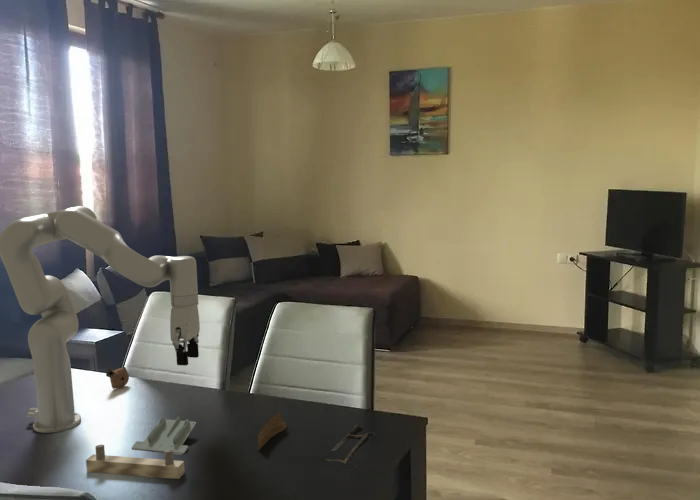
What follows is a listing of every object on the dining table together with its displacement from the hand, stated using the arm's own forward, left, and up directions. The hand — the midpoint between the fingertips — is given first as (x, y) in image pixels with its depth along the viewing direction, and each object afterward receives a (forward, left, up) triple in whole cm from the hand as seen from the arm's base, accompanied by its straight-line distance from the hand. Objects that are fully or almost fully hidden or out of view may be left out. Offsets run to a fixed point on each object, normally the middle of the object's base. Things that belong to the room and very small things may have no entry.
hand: (188, 360), depth 183 cm
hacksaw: (+50, -11, -18) cm, 55 cm away
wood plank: (+27, -9, -18) cm, 34 cm away
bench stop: (0, -32, -18) cm, 37 cm away
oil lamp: (-35, +20, -18) cm, 44 cm away
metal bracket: (0, -15, -18) cm, 23 cm away
